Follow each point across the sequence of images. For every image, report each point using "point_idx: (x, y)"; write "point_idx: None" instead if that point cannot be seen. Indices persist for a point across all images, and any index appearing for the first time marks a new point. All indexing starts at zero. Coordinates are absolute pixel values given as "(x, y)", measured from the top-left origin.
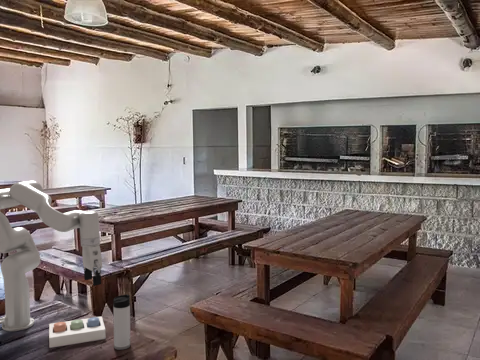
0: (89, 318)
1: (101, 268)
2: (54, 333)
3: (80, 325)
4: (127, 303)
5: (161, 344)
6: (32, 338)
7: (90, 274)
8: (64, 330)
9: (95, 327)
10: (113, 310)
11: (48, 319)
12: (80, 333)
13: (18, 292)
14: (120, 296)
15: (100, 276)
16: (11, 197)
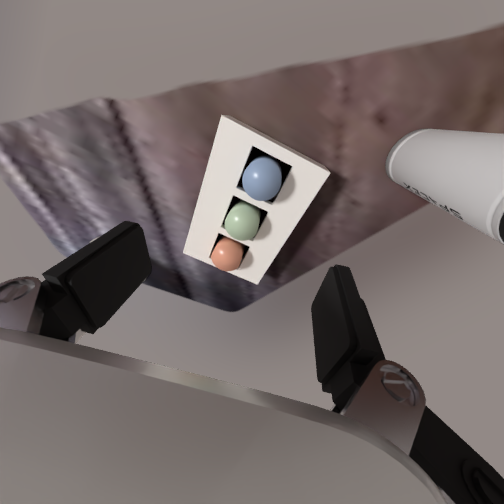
0: (244, 187)
1: (398, 448)
2: (243, 269)
3: (258, 221)
4: None
5: None
6: (197, 269)
7: (115, 260)
8: (241, 248)
9: (291, 187)
10: (486, 234)
11: (111, 208)
12: (289, 234)
13: (78, 333)
14: None
15: (366, 330)
16: None
